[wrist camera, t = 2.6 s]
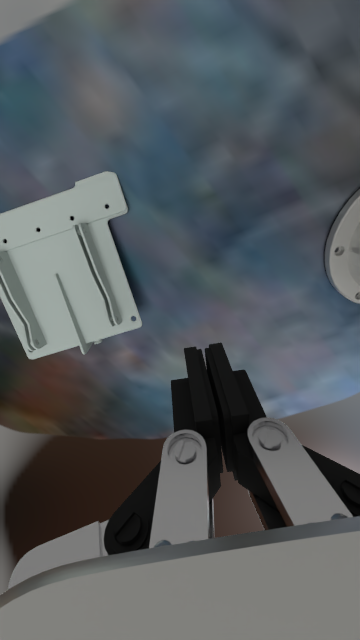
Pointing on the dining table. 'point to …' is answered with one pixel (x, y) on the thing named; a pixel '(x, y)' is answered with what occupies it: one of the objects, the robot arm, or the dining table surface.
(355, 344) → the dining table surface
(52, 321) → the metal bracket
